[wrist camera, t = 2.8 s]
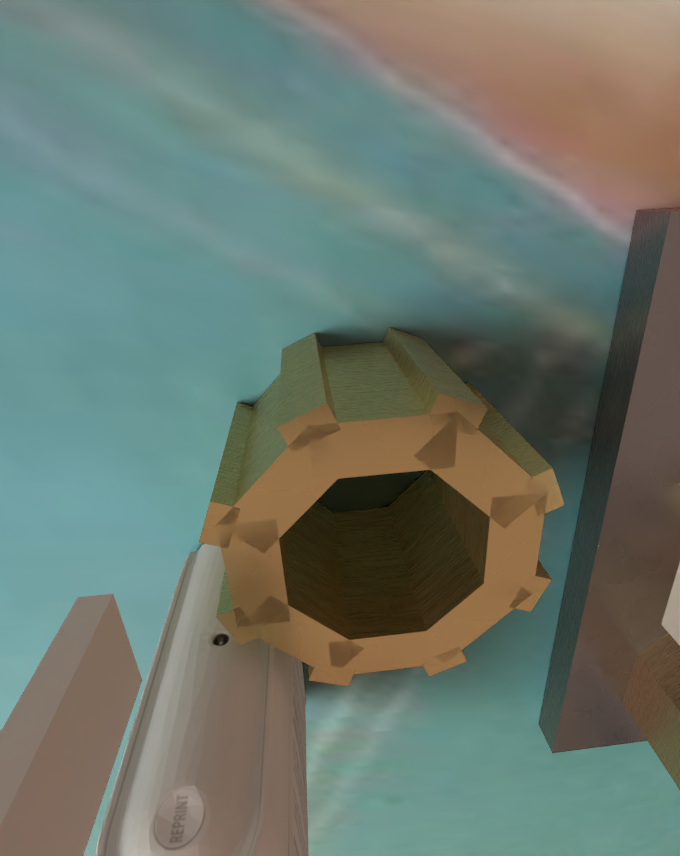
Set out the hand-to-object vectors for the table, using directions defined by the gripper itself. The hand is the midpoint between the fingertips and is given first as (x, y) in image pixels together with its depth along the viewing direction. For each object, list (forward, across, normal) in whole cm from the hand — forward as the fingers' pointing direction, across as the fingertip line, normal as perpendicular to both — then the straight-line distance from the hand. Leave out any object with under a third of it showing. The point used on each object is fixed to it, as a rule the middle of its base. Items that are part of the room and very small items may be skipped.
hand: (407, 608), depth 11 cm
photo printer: (+8, -5, -8) cm, 12 cm away
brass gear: (+7, 0, 0) cm, 7 cm away
